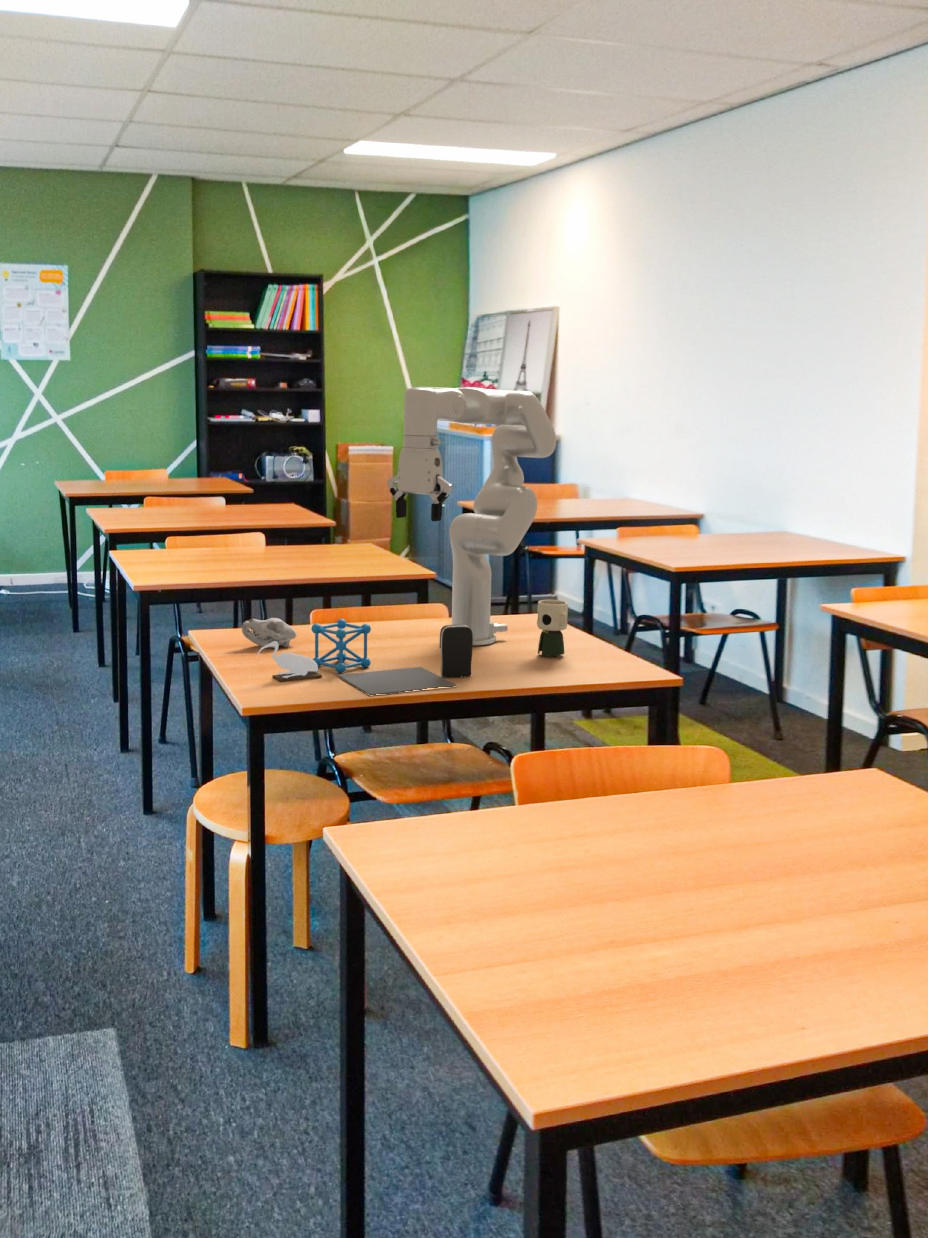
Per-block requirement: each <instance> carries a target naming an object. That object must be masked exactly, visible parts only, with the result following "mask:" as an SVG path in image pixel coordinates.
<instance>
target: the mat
mask: <svg viewBox="0 0 928 1238" xmlns="http://www.w3.org/2000/svg"><path fill="white" fill-rule="evenodd" d="M337 678H339V679H341V680H342V681H344V682H346V683H347V682H348V683H347V684H349V685H350V686H352V685H353V687H354V688H356V689H357V688H358V689H357V690H359V691H361V692H362V691H363V692H362V693H364V694H366V693H367V694H369V695H376V694H386V695H392V694H391V693H396V694H400V693H399V692H405V691H413V690H422V689H427V688H438V687H453V686H457V687H458V684H456V683H454V682H451V681H450V680H448V679H446V678H445V677H442V676H441V675H438V674H436V673H435V672H433V671H430V670H429V669H427V668H424V667H422V666H416V667H414V666H413V667H407V668H406V667H404V668H395V669H385V670H384V669H383V670H373V671H364V672H362V671H361V672H354V673H351V672H350V673H340V674H337ZM453 688H454V687H453ZM405 693H406V692H405ZM367 694H366V695H367ZM369 695H368V696H369Z"/></svg>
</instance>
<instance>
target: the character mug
mask: <svg viewBox="0 0 928 1238" xmlns="http://www.w3.org/2000/svg"><path fill="white" fill-rule="evenodd" d="M568 607H569V603H568V601H565V600H560V599H542V600H538V602H537V610H536V612H537V621H536V626H537V628H538V629H539V630H542V631H541V633H540V636H539V640H538V645H537V654H538V655H540V653H541V656H542V657H553V658H556V657H557V656H561V655H565V644H564V635H563V632H562V631H564V630H567V627H568V611H569V610H568V609H569V608H568Z"/></svg>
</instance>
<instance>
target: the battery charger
mask: <svg viewBox="0 0 928 1238" xmlns="http://www.w3.org/2000/svg"><path fill="white" fill-rule="evenodd" d="M439 632H440V633H439V649H440V677H442V678H447V679H448V678H450V677H451V678H465V677H464V676H468V677H471V676H472V659H473V646H474V645H473V634H472V630H471V628H470V627H468V626H466V625H452V624H447V625H446V624H445V625H443V626H442V627H441V629H440V631H439ZM461 676H462V677H461Z"/></svg>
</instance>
